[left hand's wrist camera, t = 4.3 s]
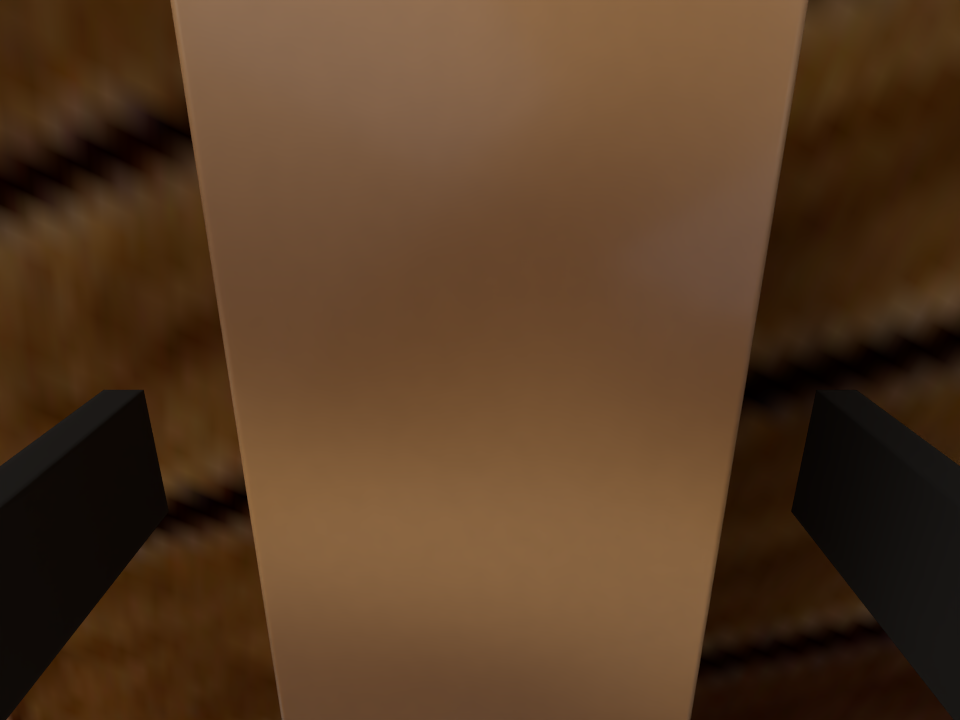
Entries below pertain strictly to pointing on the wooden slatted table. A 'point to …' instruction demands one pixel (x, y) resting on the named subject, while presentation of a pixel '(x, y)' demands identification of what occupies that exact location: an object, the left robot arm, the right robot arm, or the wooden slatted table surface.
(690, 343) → the post
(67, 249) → the wooden slatted table surface
